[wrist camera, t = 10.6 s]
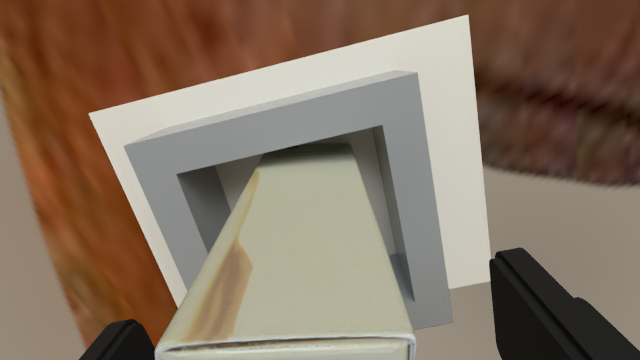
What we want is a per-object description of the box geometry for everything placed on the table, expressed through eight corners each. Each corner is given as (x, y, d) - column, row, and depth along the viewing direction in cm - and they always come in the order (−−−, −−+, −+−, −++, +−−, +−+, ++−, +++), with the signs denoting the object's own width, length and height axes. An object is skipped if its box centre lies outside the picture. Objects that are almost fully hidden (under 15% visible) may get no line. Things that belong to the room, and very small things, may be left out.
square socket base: (459, 17, 16) (518, -2, 11) (484, 270, 20) (534, 334, 15) (101, 110, 17) (17, 128, 12) (198, 327, 22) (163, 401, 17)
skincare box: (264, 145, 17) (135, 330, 5) (352, 140, 17) (424, 319, 5) (276, 258, 19) (205, 572, 7) (355, 255, 19) (410, 568, 7)
